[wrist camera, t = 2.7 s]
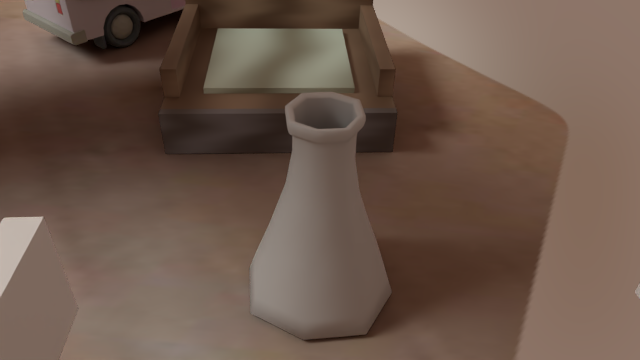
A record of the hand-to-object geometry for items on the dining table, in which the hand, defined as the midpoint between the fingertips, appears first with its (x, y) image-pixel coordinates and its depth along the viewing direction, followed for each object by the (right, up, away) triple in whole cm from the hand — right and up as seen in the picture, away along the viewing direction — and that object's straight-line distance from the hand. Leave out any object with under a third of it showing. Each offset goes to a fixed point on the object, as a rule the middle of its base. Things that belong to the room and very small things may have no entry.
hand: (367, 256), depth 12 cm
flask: (-1, -4, +16) cm, 16 cm away
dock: (-4, +8, +30) cm, 32 cm away
